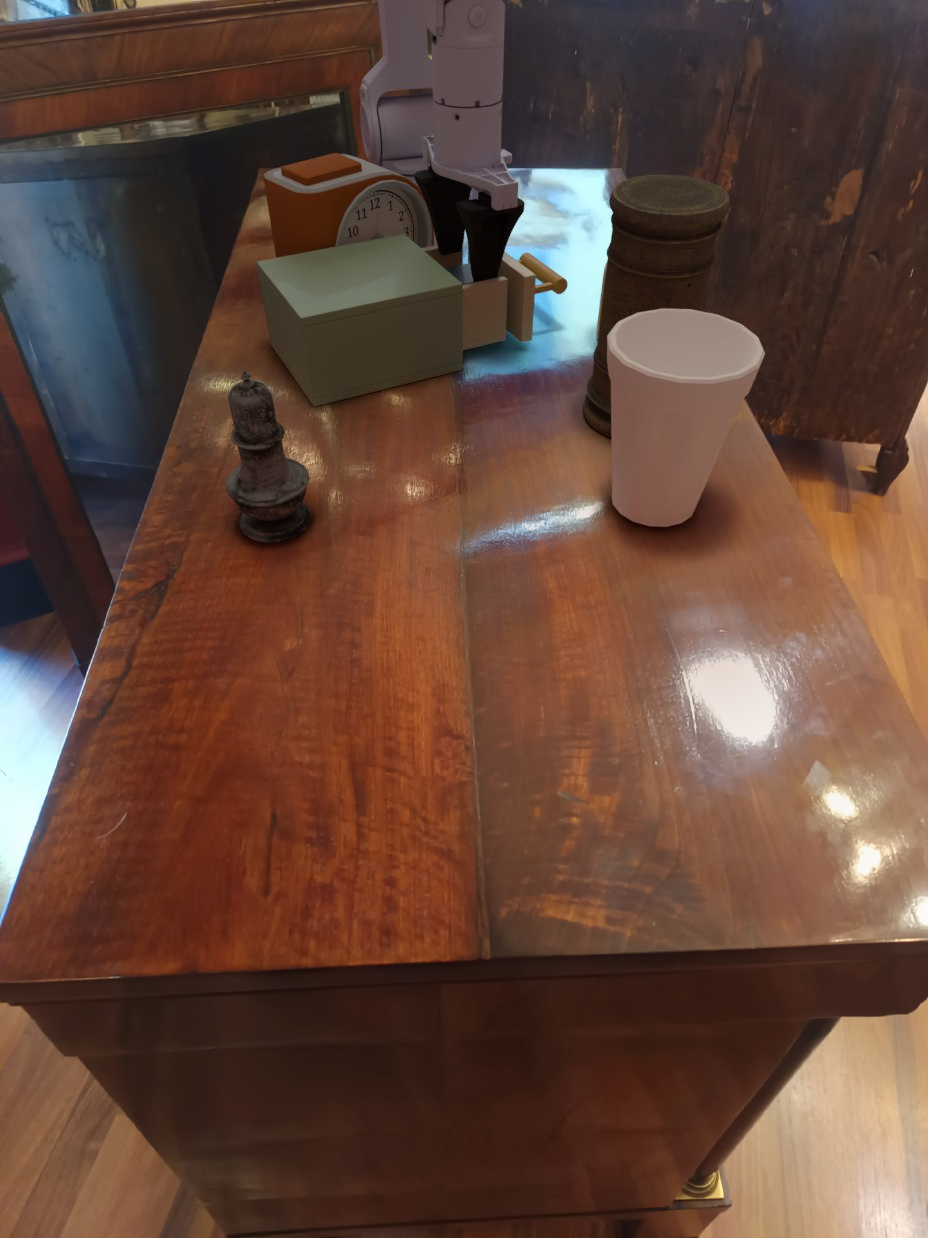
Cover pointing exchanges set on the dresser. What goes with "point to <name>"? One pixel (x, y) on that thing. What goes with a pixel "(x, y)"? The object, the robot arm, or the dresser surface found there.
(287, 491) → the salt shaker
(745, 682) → the dresser surface
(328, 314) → the cabinet
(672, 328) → the cup
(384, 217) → the alarm clock
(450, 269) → the block
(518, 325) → the drawer
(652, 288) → the container
